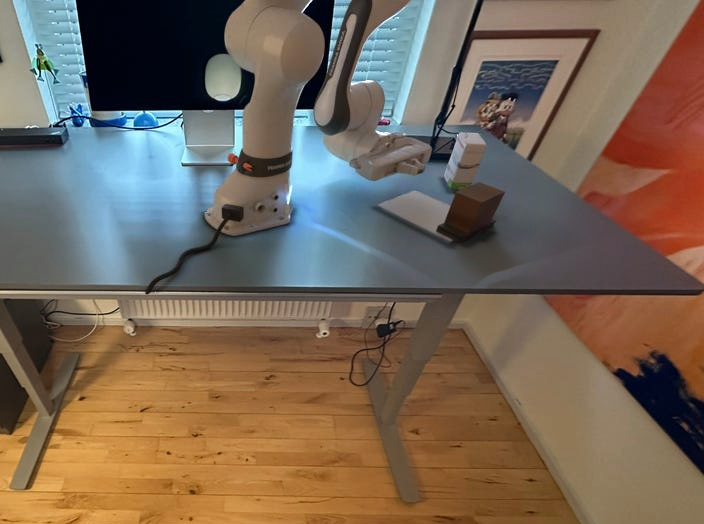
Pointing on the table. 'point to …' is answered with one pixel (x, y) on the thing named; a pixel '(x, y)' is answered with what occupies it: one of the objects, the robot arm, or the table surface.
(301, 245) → the table surface
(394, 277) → the table surface
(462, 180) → the ink box
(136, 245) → the table surface
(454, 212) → the eraser
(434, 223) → the whiteboard
